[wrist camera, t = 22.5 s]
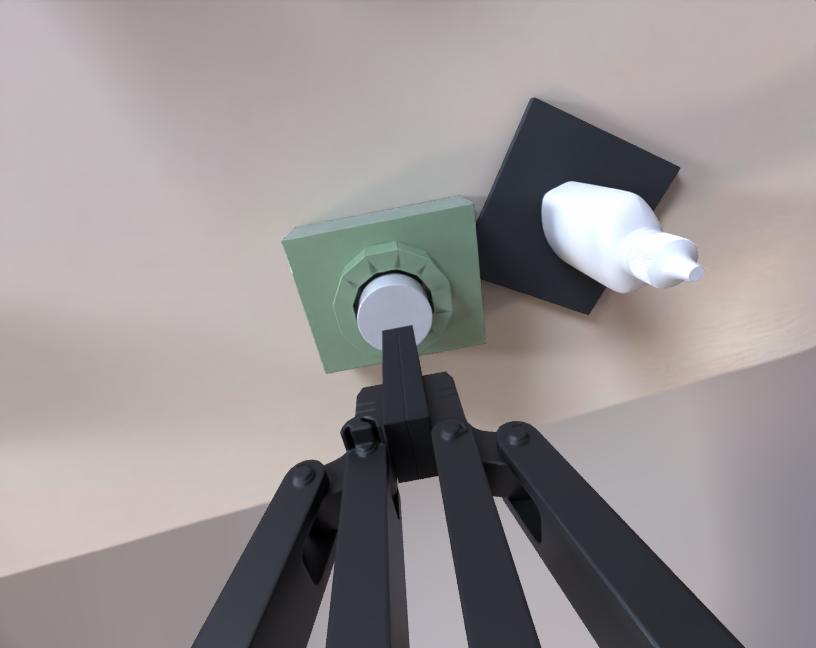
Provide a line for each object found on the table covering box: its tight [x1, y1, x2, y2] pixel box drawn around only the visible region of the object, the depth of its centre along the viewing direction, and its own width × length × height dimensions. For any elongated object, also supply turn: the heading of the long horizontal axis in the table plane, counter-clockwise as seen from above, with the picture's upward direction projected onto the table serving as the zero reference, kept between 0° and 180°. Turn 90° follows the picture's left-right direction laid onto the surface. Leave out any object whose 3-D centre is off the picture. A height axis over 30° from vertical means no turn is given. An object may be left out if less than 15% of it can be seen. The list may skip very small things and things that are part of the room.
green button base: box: [281, 195, 486, 374], centre depth 25 cm, size 12×10×6 cm
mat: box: [476, 97, 680, 315], centre depth 26 cm, size 12×12×1 cm
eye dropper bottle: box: [542, 181, 705, 293], centre depth 21 cm, size 4×6×12 cm
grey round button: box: [357, 273, 433, 350], centre depth 22 cm, size 4×4×2 cm
